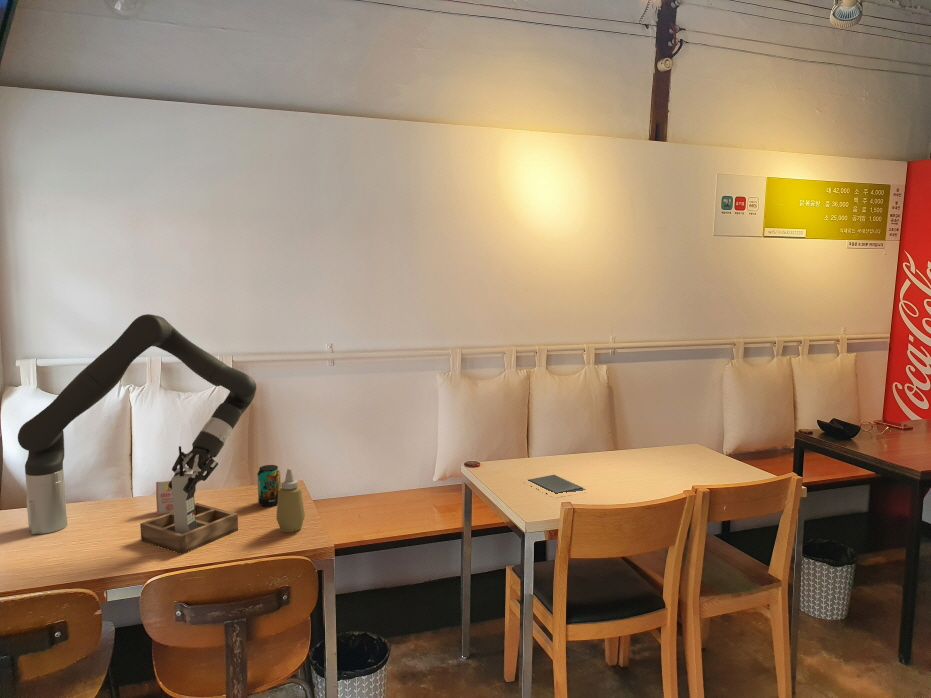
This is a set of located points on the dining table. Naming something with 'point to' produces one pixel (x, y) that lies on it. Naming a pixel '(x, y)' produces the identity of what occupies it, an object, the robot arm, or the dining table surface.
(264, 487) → the beverage can
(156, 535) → the wooden compartment tray
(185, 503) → the vintage mobile phone
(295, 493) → the squeeze bottle
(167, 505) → the tea bag
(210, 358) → the robot arm
